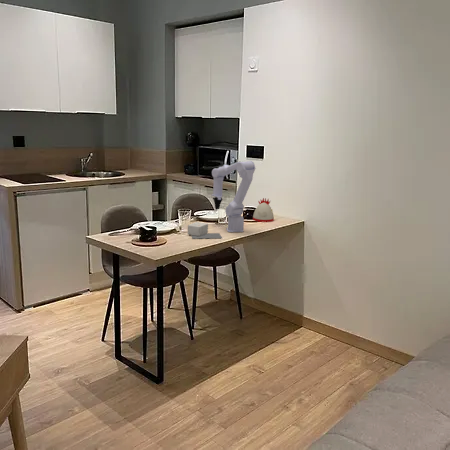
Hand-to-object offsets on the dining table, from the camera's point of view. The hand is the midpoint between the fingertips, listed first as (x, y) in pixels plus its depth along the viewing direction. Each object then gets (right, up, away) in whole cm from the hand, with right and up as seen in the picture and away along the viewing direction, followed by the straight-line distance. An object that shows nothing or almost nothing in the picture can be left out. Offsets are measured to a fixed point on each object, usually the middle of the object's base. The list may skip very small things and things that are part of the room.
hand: (217, 209), depth 298 cm
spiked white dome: (+31, -7, +22) cm, 38 cm away
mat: (-6, -17, -24) cm, 30 cm away
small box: (-8, -11, -17) cm, 22 cm away
